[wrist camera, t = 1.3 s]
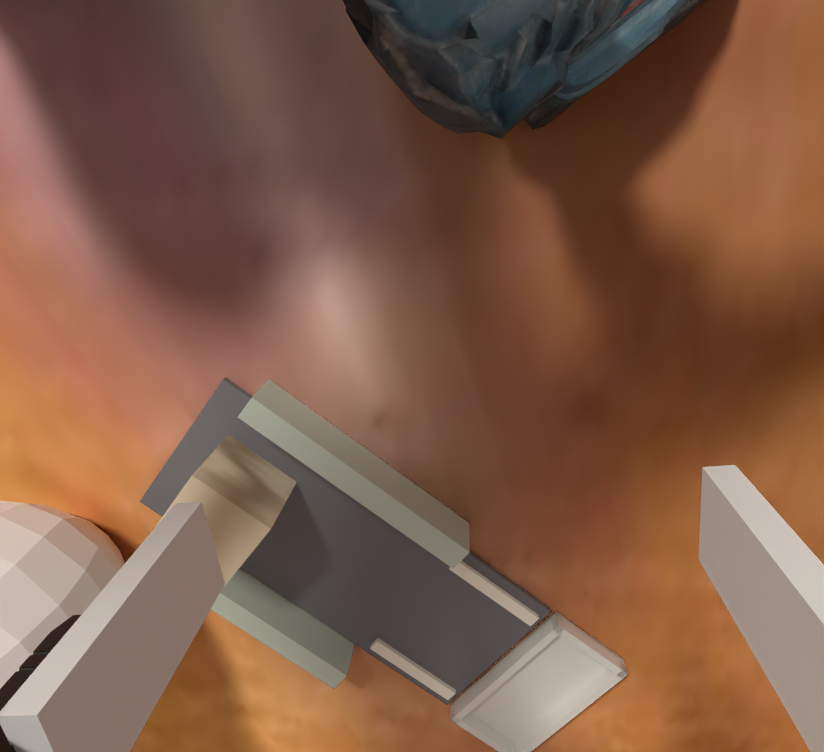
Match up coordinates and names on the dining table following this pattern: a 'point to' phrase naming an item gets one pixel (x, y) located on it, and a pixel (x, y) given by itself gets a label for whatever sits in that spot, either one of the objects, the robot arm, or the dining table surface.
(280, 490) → the block
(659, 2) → the power drill
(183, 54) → the dining table surface
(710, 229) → the dining table surface
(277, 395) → the channel
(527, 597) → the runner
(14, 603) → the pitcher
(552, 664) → the tray
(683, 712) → the dining table surface
